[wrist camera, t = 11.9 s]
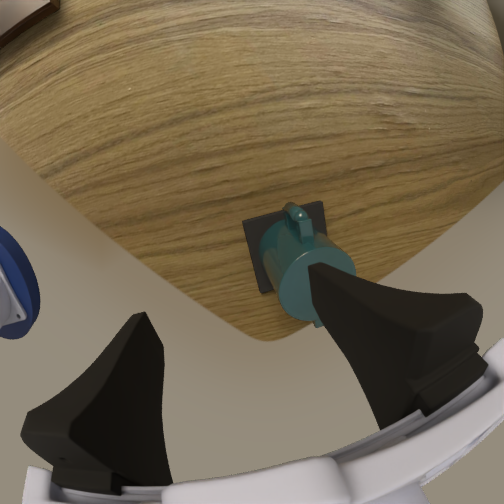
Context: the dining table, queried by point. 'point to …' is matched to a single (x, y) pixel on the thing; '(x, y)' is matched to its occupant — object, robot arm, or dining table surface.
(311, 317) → the teal tabbed cylinder
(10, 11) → the plate
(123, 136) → the dining table surface
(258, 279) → the coaster
